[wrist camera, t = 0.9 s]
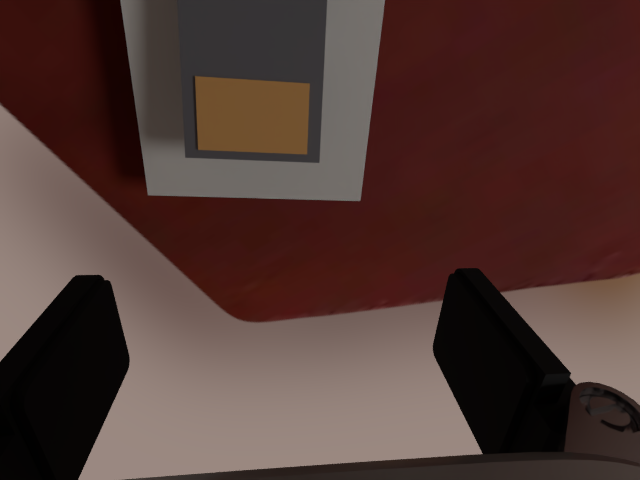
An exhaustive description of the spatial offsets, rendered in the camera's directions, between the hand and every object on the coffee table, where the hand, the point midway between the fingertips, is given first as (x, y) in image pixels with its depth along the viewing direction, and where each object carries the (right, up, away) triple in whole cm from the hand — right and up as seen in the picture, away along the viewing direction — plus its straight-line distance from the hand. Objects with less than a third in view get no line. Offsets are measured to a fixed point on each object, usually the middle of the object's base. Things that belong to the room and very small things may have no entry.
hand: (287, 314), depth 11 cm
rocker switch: (-3, +14, +11) cm, 18 cm away
